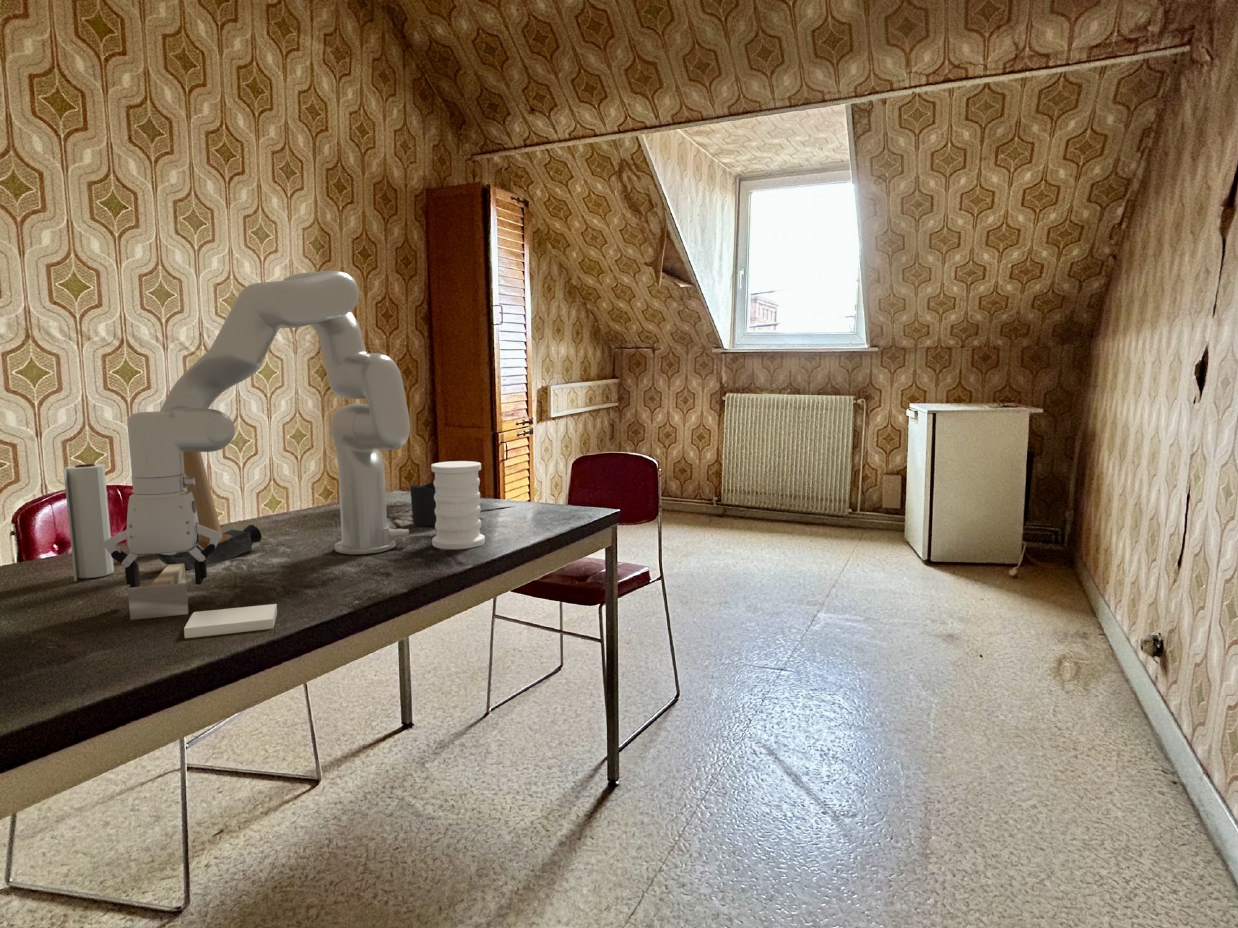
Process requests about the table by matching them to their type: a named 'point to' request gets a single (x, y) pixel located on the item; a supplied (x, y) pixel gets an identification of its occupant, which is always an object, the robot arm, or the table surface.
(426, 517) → the pen holder
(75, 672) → the table surface
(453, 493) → the decorative container
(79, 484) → the paper towel roll
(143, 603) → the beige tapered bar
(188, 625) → the tile
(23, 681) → the table surface
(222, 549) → the hammer
